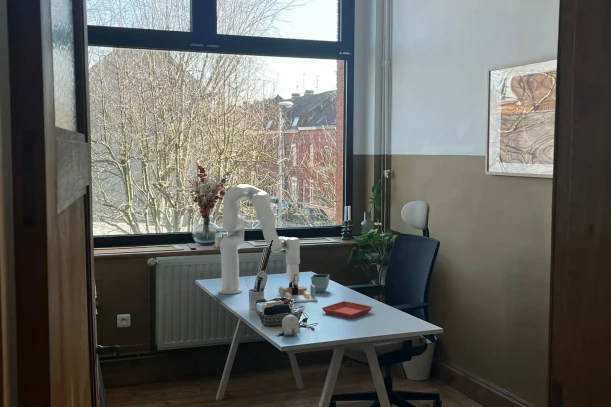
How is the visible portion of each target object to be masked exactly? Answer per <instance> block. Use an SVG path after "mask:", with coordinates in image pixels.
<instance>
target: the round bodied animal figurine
mask: <svg viewBox="0 0 611 407" xmlns="http://www.w3.org/2000/svg"><path fill="white" fill-rule="evenodd" d="M281 326H282V331H283V335H284V336H286V337H287V336H288V337H289V336H290V335H292V336H294V335H295V336H296V335H297V334H299V333H300V332H301V329H300V327H299V326H300V321H299V318H298V317H297V316H296V315H294V314H287V315H285V316H284V317H283V318H282V320H281Z"/></svg>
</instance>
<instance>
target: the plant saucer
mask: <svg viewBox="0 0 611 407" xmlns="http://www.w3.org/2000/svg"><path fill="white" fill-rule="evenodd" d="M372 309H373V306H372V305H366V304H360V303H355V302H350V301H346V300H343V301H340V302H337V303H336V302H335V303H333V304H330V305H327V306H323V307H321V310H322V311H323V312H325V313H324V314H326V315H332V316H336V317H341V318H345V319H350V320H351V319H353V318H356V317H360V316H362V315H366V314H368V313H369V312H370V311H371V310H372Z"/></svg>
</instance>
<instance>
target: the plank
mask: <svg viewBox="0 0 611 407" xmlns="http://www.w3.org/2000/svg"><path fill="white" fill-rule="evenodd" d="M283 288H284V296H285V293H288V292H289V293H290V294H291V295H292V288H293V287H289V286H288V287H287V286H286V287H283ZM307 288H308V287H305V286H304V285H298V295H304V291H307V292H308V289H307ZM279 293H280V287H279V288H278V294H279Z"/></svg>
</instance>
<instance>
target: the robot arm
mask: <svg viewBox="0 0 611 407" xmlns="http://www.w3.org/2000/svg"><path fill="white" fill-rule="evenodd" d="M244 200H246V201H248V202H250V203H251V204H252V206H253V209H254V212H255V213H256V216H257V217H258V220H259V222H260V227H261V230H262V234H263V238H264V240H265V243H266V245H267V247H268V248H269V246H270V244H271V241H272V240H273V242H272V246H271V250H270V251H271V252H272V253H274V254H275V253H276V254H277V253H279V252H280V253H281V252H282V251H285V264H286V281H288V287H293V288H292V295H298V286H299V281H300V270H299V269H300V264H301V257H300V256H301V255H300V254H301V253H300V252H301V251H300V248H301V247H300V246H301V245H300V242H301V241H300V239H299V237H287V236H286V237H285V236H279V235H278V232H277V229H276V216H275V213H274V211H273V210H272V207H271V205H270V204H271V200H272V199H271V196H270V195H269V193H268V192H266V191H264V190H262V189H259V188H257V187H255V186H252V185H250V184H246V183H243V184H237V185H234V186H232V187H229V188H228V189H227V190H226V191H225V193H224V195H223V203H222V204H223V205H222V229H223V230H224V232H226V233H227V235H225V236H224V237H223V238H222V239H221V240H220V243H219V250H220V257H221V259H220V260H221V262H220V263H221V288H220V289H218V292H219V293H220V294H224V295H225V294H226V295H234V294H240V293H242V291H243V289H242V288H240V262H239V261H240V259H239V258H240V257H239V252H238V251H239V249H241V248H242V247H243V245H244V242H245V220H244V218H243V216H241V215H240V214H239V209H240V207H239V202H241V201H244Z"/></svg>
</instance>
